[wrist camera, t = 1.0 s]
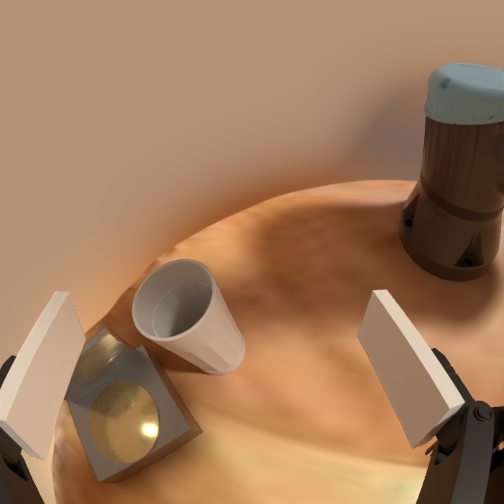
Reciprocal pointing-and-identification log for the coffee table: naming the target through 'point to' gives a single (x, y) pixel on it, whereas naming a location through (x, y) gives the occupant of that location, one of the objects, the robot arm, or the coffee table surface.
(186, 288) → the cup
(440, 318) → the coffee table surface
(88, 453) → the grey holder block
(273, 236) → the coffee table surface
